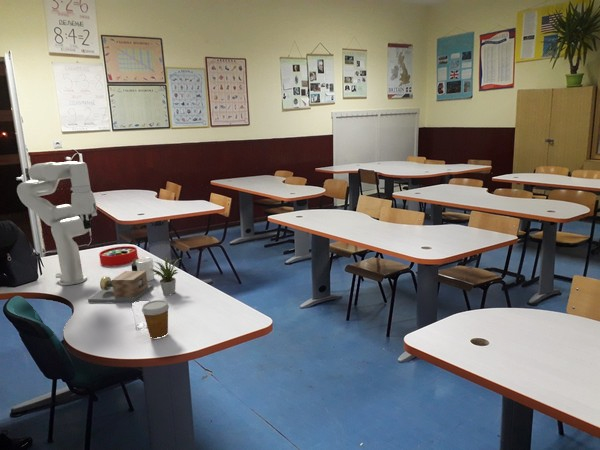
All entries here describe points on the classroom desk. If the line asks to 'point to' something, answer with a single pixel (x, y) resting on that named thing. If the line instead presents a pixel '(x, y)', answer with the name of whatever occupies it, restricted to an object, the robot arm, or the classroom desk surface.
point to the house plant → (167, 277)
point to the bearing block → (129, 284)
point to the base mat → (109, 297)
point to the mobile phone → (134, 265)
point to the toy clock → (118, 256)
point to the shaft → (107, 283)
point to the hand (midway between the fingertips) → (88, 228)
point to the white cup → (146, 267)
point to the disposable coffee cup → (156, 317)
